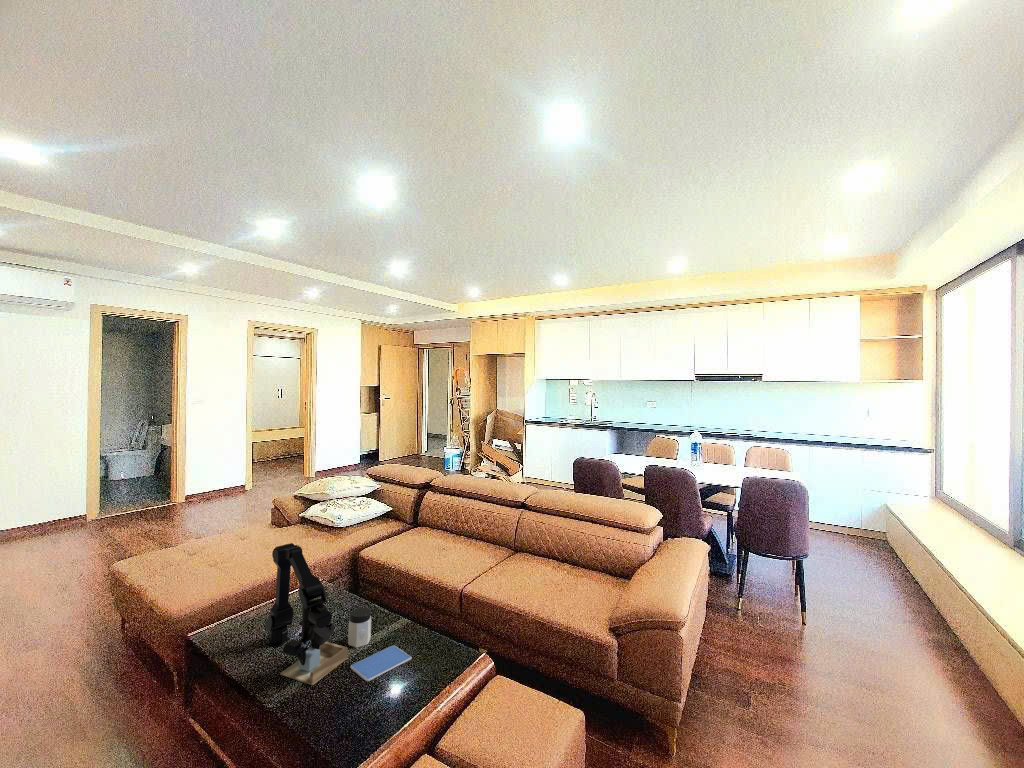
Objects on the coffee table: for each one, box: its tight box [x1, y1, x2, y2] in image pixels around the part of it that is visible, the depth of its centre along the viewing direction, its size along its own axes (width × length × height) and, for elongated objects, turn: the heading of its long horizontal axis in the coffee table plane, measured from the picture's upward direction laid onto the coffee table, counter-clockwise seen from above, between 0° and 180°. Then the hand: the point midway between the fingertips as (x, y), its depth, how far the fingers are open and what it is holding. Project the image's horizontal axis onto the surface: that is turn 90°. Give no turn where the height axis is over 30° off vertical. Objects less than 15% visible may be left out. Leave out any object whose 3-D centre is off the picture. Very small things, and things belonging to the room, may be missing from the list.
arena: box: [280, 641, 349, 686], centre depth 163 cm, size 15×17×4 cm
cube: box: [298, 646, 320, 671], centre depth 160 cm, size 5×5×5 cm
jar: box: [347, 607, 372, 648], centre depth 179 cm, size 9×8×12 cm
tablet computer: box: [349, 644, 413, 682], centre depth 166 cm, size 19×13×1 cm, turn 139°
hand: (308, 660), depth 160 cm, fingers closed on cube, 5 cm apart
